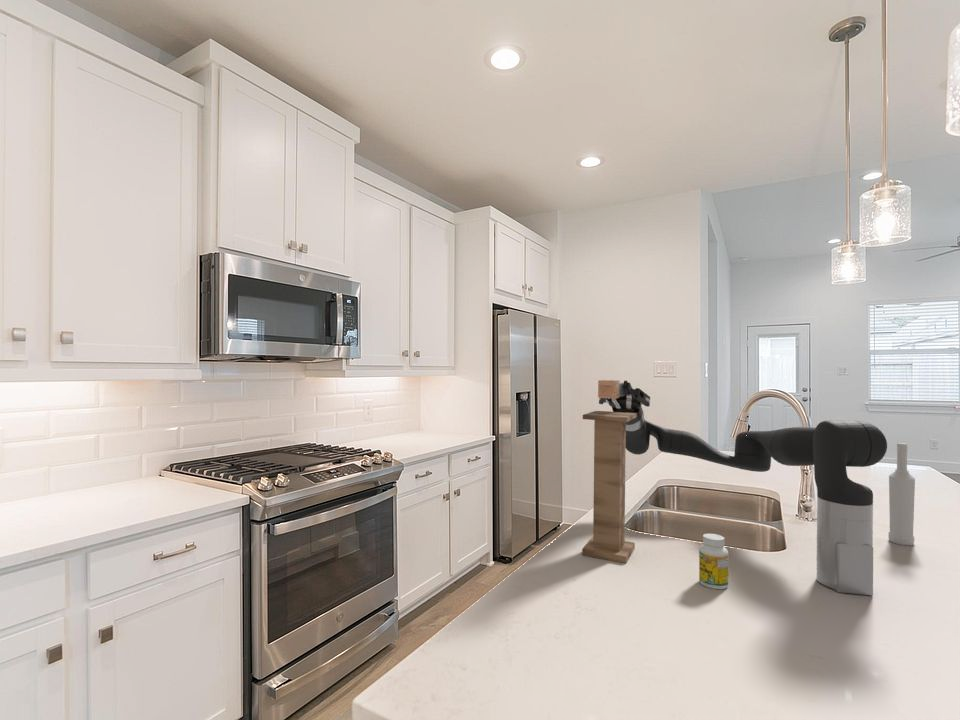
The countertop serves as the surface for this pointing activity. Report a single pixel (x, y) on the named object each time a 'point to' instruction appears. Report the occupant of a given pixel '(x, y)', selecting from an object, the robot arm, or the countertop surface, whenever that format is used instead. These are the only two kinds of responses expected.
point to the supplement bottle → (713, 562)
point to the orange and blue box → (610, 389)
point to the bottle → (901, 500)
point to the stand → (609, 487)
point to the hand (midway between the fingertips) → (617, 383)
